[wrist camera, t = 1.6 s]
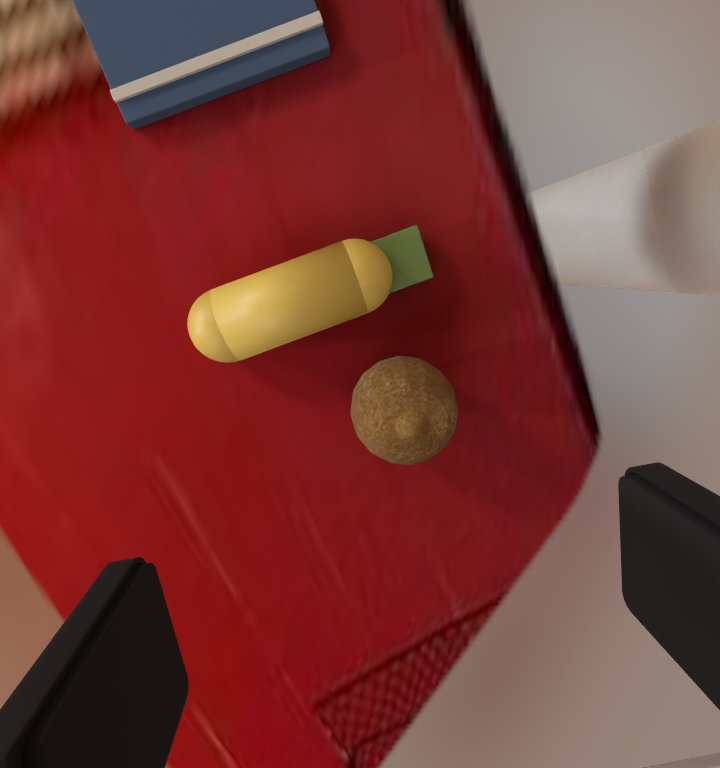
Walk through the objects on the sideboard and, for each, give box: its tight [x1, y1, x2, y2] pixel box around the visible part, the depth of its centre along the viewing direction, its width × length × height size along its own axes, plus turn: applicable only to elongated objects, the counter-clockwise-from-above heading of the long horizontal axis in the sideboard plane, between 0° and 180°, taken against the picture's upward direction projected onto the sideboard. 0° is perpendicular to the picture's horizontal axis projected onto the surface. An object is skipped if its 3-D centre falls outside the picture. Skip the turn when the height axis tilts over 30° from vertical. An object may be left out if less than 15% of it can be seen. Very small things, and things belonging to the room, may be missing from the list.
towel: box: [72, 0, 330, 129], centre depth 26 cm, size 12×8×2 cm, turn 110°
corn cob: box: [188, 225, 433, 363], centre depth 28 cm, size 15×4×4 cm, turn 110°
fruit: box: [350, 356, 458, 465], centre depth 29 cm, size 6×6×8 cm
